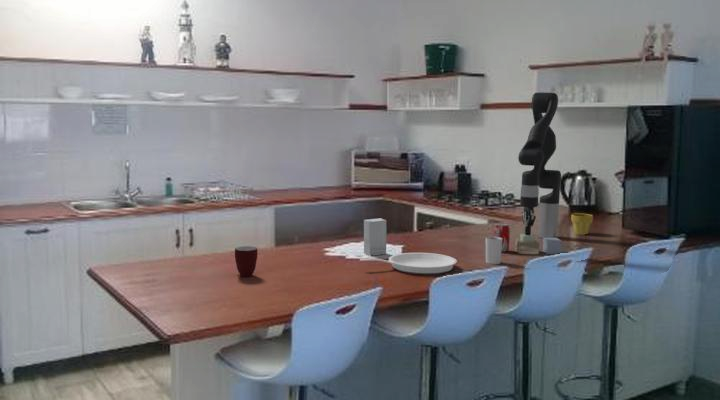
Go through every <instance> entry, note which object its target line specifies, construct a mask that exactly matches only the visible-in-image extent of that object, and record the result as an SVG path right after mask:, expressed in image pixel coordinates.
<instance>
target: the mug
mask: <svg viewBox="0 0 720 400" xmlns="http://www.w3.org/2000/svg"><path fill="white" fill-rule="evenodd" d="M234 258H235V264H236V265H235V266H236V270H237V272H238V273H239V275H240V276H241V277H242V278H244V277H245V278H249V277H252V276H253V274H254V272H255V271H256V270H255V269H256V265H257V261H258V247H256V246H251V245H250V246H247V245H245V246H238V247H235V248H234Z"/></svg>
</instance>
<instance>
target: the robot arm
mask: <svg viewBox="0 0 720 400" xmlns="http://www.w3.org/2000/svg"><path fill="white" fill-rule="evenodd" d="M558 105H559V98H558V94H557V92H556V93H555V92H535V93H533V95H532V97H531V110H532V111H531V112H532V116H533V123H534V124H533V125H532V127H531V128H530V130H529V134H528V137H527V140H526V142H525V144H524V145H523V146H522V148H521V149H520V151H519V153H518V158H517V159H518V163H519V164H520V165H522V166H529V167H530V166H533V168H532V169H531V170H525V171H523V172H522V174H521V187H520V197H519V198H520V199H519V200H520V203H519V206H520V207H523V211H521V215H522V216H521V217H522V224H523V225H524V234H525V235H531V234H532V226H534V223H535V221H536V218H537V217H536V215H535V210H534V208H537V207H538V206H539V208H538V209H539V211H538V228H537V229H538V230H537V237H538V238H541V239H543V238H558V231H559V230H558V229H559V215H560V214H559V209H560V193H561V184H562V173H561V171H560V170H557V169H556V170H555V169H546V165H547V163H548V161H550V159H551V157H552V156H553V155H554V154H555V152H556V149H557V139H556V138H557V137H556V134H555V132H554V130H553V129H552V128H551V126H550V125H551V123H552V122H553V119H554V117H555V115H556V112H557V109H558ZM543 114H544V115H543ZM539 188H540V189H546V190H547V189H548V190H552V191H551V192H550V193H548V194H545V195H541V196H540V197H539V193H540V191H539Z"/></svg>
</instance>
